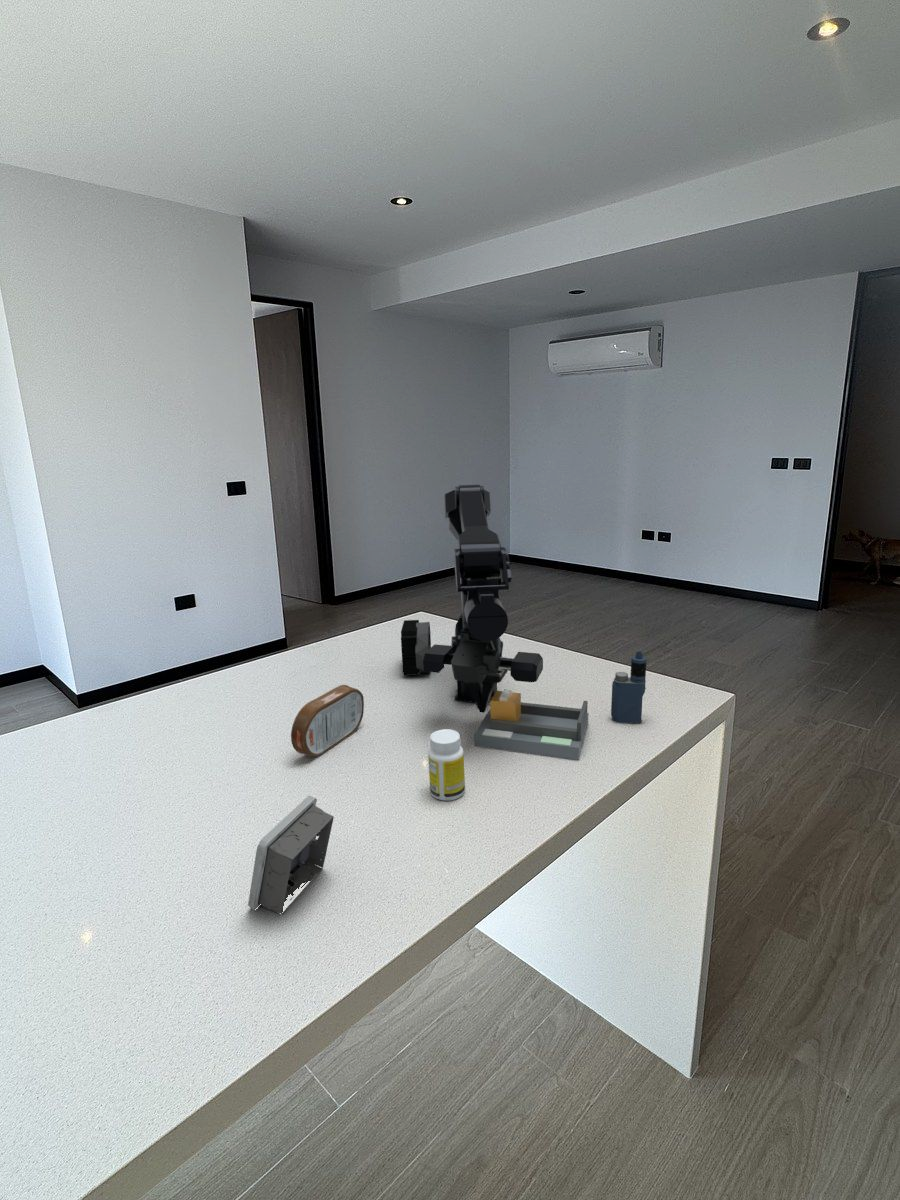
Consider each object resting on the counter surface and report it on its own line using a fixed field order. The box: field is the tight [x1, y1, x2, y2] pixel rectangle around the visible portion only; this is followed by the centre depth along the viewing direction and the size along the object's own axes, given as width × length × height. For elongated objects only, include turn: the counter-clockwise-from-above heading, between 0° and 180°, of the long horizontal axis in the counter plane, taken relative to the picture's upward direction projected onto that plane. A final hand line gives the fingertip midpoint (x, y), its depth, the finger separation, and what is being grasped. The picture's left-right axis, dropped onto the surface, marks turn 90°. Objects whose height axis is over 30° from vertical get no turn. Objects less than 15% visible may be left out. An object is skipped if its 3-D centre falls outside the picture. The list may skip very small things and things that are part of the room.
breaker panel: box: [473, 700, 590, 761], centre depth 100 cm, size 16×12×5 cm
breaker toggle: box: [489, 688, 522, 722], centre depth 101 cm, size 4×4×5 cm
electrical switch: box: [247, 795, 335, 915], centre depth 67 cm, size 9×5×9 cm, turn 158°
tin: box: [290, 684, 365, 758], centre depth 99 cm, size 15×3×8 cm, turn 150°
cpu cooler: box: [400, 619, 432, 676], centre depth 127 cm, size 10×6×10 cm, turn 179°
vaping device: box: [610, 651, 647, 724], centre depth 103 cm, size 3×5×12 cm, turn 79°
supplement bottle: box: [427, 728, 466, 801], centre depth 85 cm, size 5×5×8 cm
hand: (482, 711), depth 102 cm, fingers closed
